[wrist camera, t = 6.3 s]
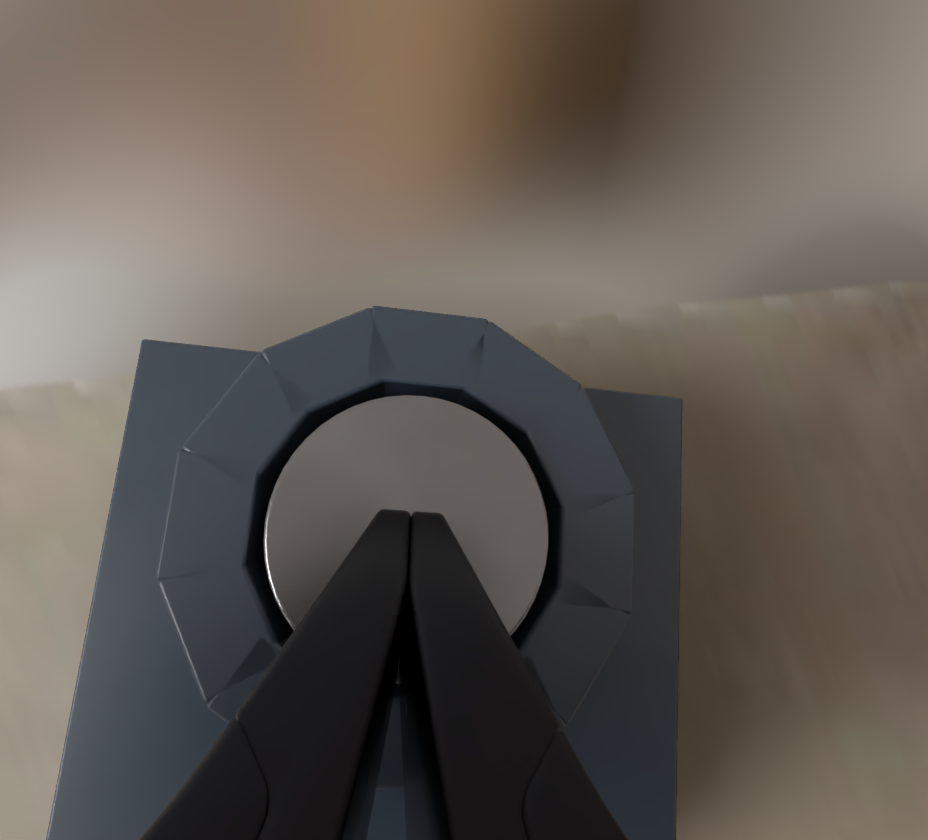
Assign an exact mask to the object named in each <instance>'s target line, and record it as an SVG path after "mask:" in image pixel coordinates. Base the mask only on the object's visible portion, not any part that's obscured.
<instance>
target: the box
mask: <svg viewBox="0 0 928 840" xmlns="http://www.w3.org/2000/svg"><path fill="white" fill-rule="evenodd" d="M397 395H422V396H429V397H435V398H440V399H444V400H447V401H450V402H454V403H457V404H459V405H462V406H464V407H466V408H468V409H471V410H473V411H475V412H476V413H478V414H480V415H481V416H483V417H484V418H486V419H488V420H489V421H491V422H492V423H493V424H494V425H495V426H497V427H498V428H499V429H500V430H502V431H503V432H504V433H505V434H506V435H507V436H508V437H509V438H510V439H511V440H512V441H513V442H514V444H515V445H516V446H517V447H518V449H519V450H520V451H521V453H522V454H523V455H524V457H525V458H526V460H527V462H528V463H529V465H530V467H531V469H532V470H533V472H534V474H535V476H536V479H537V481H538V484H539V486H540V489H541V491H542V495H543V499H544V502H545V506H546V511H547V518H548V526H549V548H548V556H547V564H546V568H545V572H544V576H543V580H542V584H541V586H540V589H539V591H538V594H537V596H536V599H535V601H534V603H533V605H532V606H531V608H530V610H529V612H528V614H527V616H526V617H525V619H524V620H523V621H522V623H521V624H520V625H519V627H518V628H517V630H516V631H515V632H514V633H513V634H512V635H511V638H512V640H513V642H514V644H515V645H516V647H517V649H518V651H519V653H520V655H521V656H522V658H523V660H524V662H525V664H526V665H527V667H528V669H529V671H530V673H531V674H532V676H533V678H534V680H535V682H536V683H537V685H538V687H539V689H540V691H541V692H542V694H543V696H544V698H545V700H546V702H547V703H548V705H549V707H550V709H551V711H552V712H553V714H554V716H555V718H556V720H557V721H558V723H559V729H558V731H563V732H564V733H565V735H566V737H567V739H568V741H569V742H570V744H571V746H572V748H573V750H574V752H575V753H576V755H577V757H578V759H579V761H580V762H581V764H582V766H583V768H584V769H585V771H586V773H587V774H588V776H589V778H590V779H591V781H592V783H593V784H594V786H595V788H596V790H597V791H598V793H599V795H600V796H601V798H602V800H603V801H604V803H605V805H606V806H607V808H608V810H609V811H610V813H611V814H612V816H613V817H614V819H615V820H616V822H617V823H618V825H619V826H620V828H621V829H622V831H623V832H624V834H625V835H626V837H627V838H628V840H676V795H677V728H678V661H679V594H680V526H681V459H682V399H681V398H676V397H667V396H658V395H649V394H640V393H631V392H621V391H612V390H603V389H594V388H585V387H581V385H580V384H579V383H578V382H576V381H575V380H573V379H572V378H571V377H569V376H568V375H566V374H565V373H563V372H562V371H561V370H559V369H558V368H556V367H555V366H553V365H552V364H551V363H549V362H548V361H546V360H545V359H543V358H542V357H541V356H539V355H538V354H536V353H535V352H534V351H532V350H531V349H529V348H528V347H526V346H525V345H524V344H522V343H521V342H519V341H518V340H516V339H515V338H514V337H512V336H511V335H509V334H508V333H506V332H505V331H504V330H502V329H501V328H499V327H498V326H496V325H495V324H494V323H492V322H488V320H487V319H482V318H474V317H465V316H457V315H448V314H440V313H431V312H423V311H414V310H406V309H397V308H389V307H381V306H373V307H372V308H366V309H364V310H361V311H359V312H356V313H354V314H352V315H349V316H346V317H344V318H341V319H339V320H336V321H334V322H331V323H329V324H326V325H324V326H321V327H319V328H316V329H314V330H311V331H309V332H306V333H304V334H301V335H299V336H296V337H294V338H291V339H289V340H286V341H284V342H281V343H279V344H276V345H273V346H271V347H268V348H266V349H264V350H263V351H262V352H255V351H247V350H236V349H228V348H219V347H210V346H201V345H192V344H183V343H173V342H164V341H155V340H142V343H141V349H140V354H139V359H138V364H137V369H136V375H135V380H134V385H133V390H132V395H131V401H130V406H129V411H128V416H127V421H126V427H125V432H124V437H123V442H122V447H121V453H120V458H119V463H118V468H117V474H116V479H115V484H114V489H113V494H112V500H111V505H110V510H109V515H108V520H107V526H106V531H105V536H104V541H103V546H102V552H101V557H100V562H99V567H98V573H97V578H96V583H95V588H94V593H93V599H92V604H91V609H90V614H89V619H88V625H87V630H86V635H85V640H84V645H83V651H82V656H81V661H80V666H79V672H78V677H77V682H76V687H75V692H74V698H73V703H72V708H71V713H70V718H69V724H68V729H67V734H66V739H65V744H64V750H63V755H62V760H61V765H60V771H59V776H58V781H57V786H56V791H55V797H54V802H53V807H52V812H51V817H50V823H49V828H48V833H47V838H46V840H139V839H140V838H141V837H142V835H143V834H144V833H145V832H146V831H147V829H148V828H149V827H150V826H151V825H152V823H153V822H154V821H155V820H156V819H157V817H158V816H159V815H160V814H161V813H162V811H163V810H164V809H165V808H166V807H167V805H168V804H169V803H170V802H171V800H172V799H173V798H174V797H175V795H176V794H177V793H178V791H179V790H180V789H181V787H182V786H183V785H184V783H185V782H186V781H187V779H188V778H189V777H190V775H191V774H192V773H193V771H194V770H195V769H196V767H197V766H198V765H199V763H200V762H201V761H202V759H203V758H204V757H205V755H206V754H207V753H208V751H209V750H210V748H211V747H212V746H213V744H214V743H215V741H216V740H217V739H218V737H219V736H220V734H221V733H222V731H223V730H224V729H225V727H226V726H227V724H228V723H229V722H230V720H231V719H234V718H235V719H236V712H237V711H238V709H239V708H240V707H241V705H242V704H243V702H244V701H245V699H246V698H247V697H248V695H249V694H250V692H251V691H252V689H253V688H254V687H255V685H256V684H257V682H258V681H259V680H260V678H261V677H262V675H263V674H264V672H265V671H266V670H267V668H268V667H269V665H270V664H271V663H272V661H273V660H274V658H275V657H276V655H277V654H278V653H279V651H280V650H281V648H282V647H283V646H284V644H285V643H286V641H287V640H288V638H289V637H290V636H291V634H292V633H293V629H292V628H291V626H290V625H289V624H288V622H287V621H286V619H285V618H284V616H283V615H282V613H281V611H280V609H279V607H278V605H277V603H276V601H275V598H274V596H273V593H272V590H271V587H270V584H269V581H268V577H267V572H266V567H265V562H264V548H263V535H264V522H265V517H266V512H267V507H268V503H269V500H270V497H271V494H272V491H273V488H274V485H275V483H276V481H277V479H278V477H279V475H280V473H281V471H282V469H283V467H284V466H285V464H286V463H287V461H288V460H289V458H290V457H291V455H292V454H293V452H294V451H295V450H296V449H297V448H298V446H299V445H300V444H301V443H302V442H303V441H304V440H305V439H306V437H307V436H309V435H310V434H311V433H312V432H313V431H314V430H315V429H317V428H318V427H319V426H320V425H321V424H323V423H324V422H326V421H327V420H329V419H330V418H332V417H333V416H335V415H336V414H338V413H340V412H342V411H344V410H346V409H348V408H350V407H352V406H355V405H357V404H360V403H363V402H366V401H369V400H373V399H377V398H382V397H387V396H397ZM366 840H406V821H405V802H404V782H403V763H402V743H401V724H400V705H399V684H396V687H395V693H394V699H393V704H392V709H391V714H390V719H389V724H388V729H387V734H386V740H385V745H384V750H383V755H382V760H381V765H380V770H379V776H378V781H377V786H376V791H375V796H374V801H373V806H372V812H371V817H370V822H369V827H368V832H367V837H366Z"/></svg>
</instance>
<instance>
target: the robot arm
mask: <svg viewBox="0 0 928 840" xmlns="http://www.w3.org/2000/svg"><path fill="white" fill-rule="evenodd" d="M399 654H400V657H399ZM398 664H399V705H400V724H401V743H402V763H403V782H404V802H405V821H406V840H628V838H627V837H626V835H625V834H624V832H623V831H622V829H621V828H620V826H619V825H618V823H617V822H616V820H615V819H614V817H613V816H612V814H611V813H610V811H609V810H608V808H607V806H606V805H605V803H604V801H603V800H602V798H601V796H600V795H599V793H598V791H597V790H596V788H595V786H594V784H593V783H592V781H591V779H590V778H589V776H588V774H587V773H586V771H585V769H584V768H583V766H582V764H581V762H580V761H579V759H578V757H577V755H576V753H575V752H574V750H573V748H572V746H571V744H570V742H569V741H568V739H567V737H566V735H565V733H564V732H563V731H558V729H559V723H558V721H557V720H556V718H555V716H554V714H553V712H552V711H551V709H550V707H549V705H548V703H547V702H546V700H545V698H544V696H543V694H542V692H541V691H540V689H539V687H538V685H537V683H536V682H535V680H534V678H533V676H532V674H531V673H530V671H529V669H528V667H527V665H526V664H525V662H524V660H523V658H522V656H521V655H520V653H519V651H518V649H517V647H516V645H515V644H514V642H513V640H512V638H511V636H510V635H509V633H508V631H507V629H506V627H505V626H504V624H503V622H502V620H501V618H500V617H499V615H498V613H497V611H496V609H495V608H494V606H493V604H492V602H491V600H490V598H489V597H488V595H487V593H486V591H485V589H484V588H483V586H482V584H481V582H480V580H479V579H478V577H477V575H476V573H475V571H474V570H473V568H472V566H471V564H470V562H469V561H468V559H467V557H466V555H465V553H464V552H463V550H462V548H461V546H460V544H459V542H458V541H457V539H456V537H455V535H454V533H453V532H452V530H451V528H450V526H449V524H448V523H447V521H446V519H445V517H444V516H443V515H442V514H440V513H434V512H420V511H415V512H413V513H412V515H411V516H410V513H409V512H408V511H405V510H391V509H382V510H380V511H379V512H378V513H377V514H376V515H375V516H374V518H373V519H372V521H371V522H370V524H369V525H368V526H367V528H366V529H365V531H364V532H363V534H362V535H361V536H360V538H359V539H358V541H357V542H356V543H355V545H354V546H353V548H352V549H351V551H350V552H349V553H348V555H347V556H346V558H345V559H344V560H343V562H342V563H341V565H340V566H339V568H338V569H337V570H336V572H335V573H334V575H333V576H332V577H331V579H330V580H329V582H328V583H327V585H326V586H325V587H324V589H323V590H322V592H321V593H320V594H319V596H318V597H317V599H316V600H315V602H314V603H313V604H312V606H311V607H310V609H309V610H308V611H307V613H306V614H305V616H304V617H303V619H302V620H301V621H300V623H299V624H298V626H297V627H296V629H295V630H294V631H293V633H292V634H291V636H290V637H289V638H288V640H287V641H286V643H285V644H284V646H283V647H282V648H281V650H280V651H279V653H278V654H277V655H276V657H275V658H274V660H273V661H272V663H271V664H270V665H269V667H268V668H267V670H266V671H265V672H264V674H263V675H262V677H261V678H260V680H259V681H258V682H257V684H256V685H255V687H254V688H253V689H252V691H251V692H250V694H249V695H248V697H247V698H246V699H245V701H244V702H243V704H242V705H241V707H240V708H239V709H238V711H237V712H236V719H235V718H234V719H231V720H230V722H229V723H228V724H227V726H226V727H225V729H224V730H223V731H222V733H221V734H220V736H219V737H218V739H217V740H216V741H215V743H214V744H213V746H212V747H211V748H210V750H209V751H208V753H207V754H206V755H205V757H204V758H203V759H202V761H201V762H200V763H199V765H198V766H197V767H196V769H195V770H194V771H193V773H192V774H191V775H190V777H189V778H188V779H187V781H186V782H185V783H184V785H183V786H182V787H181V789H180V790H179V791H178V793H177V794H176V795H175V797H174V798H173V799H172V800H171V802H170V803H169V804H168V805H167V807H166V808H165V809H164V810H163V811H162V813H161V814H160V815H159V816H158V817H157V819H156V820H155V821H154V822H153V823H152V825H151V826H150V827H149V828H148V829H147V831H146V832H145V833H144V834H143V835H142V837H141V838H140V839H139V840H366V837H367V832H368V827H369V822H370V817H371V812H372V806H373V801H374V796H375V791H376V786H377V781H378V776H379V770H380V765H381V760H382V755H383V750H384V745H385V740H386V734H387V729H388V724H389V719H390V714H391V709H392V704H393V699H394V693H395V687H396V681H397V673H398Z"/></svg>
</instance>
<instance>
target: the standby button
mask: <svg viewBox="0 0 928 840" xmlns="http://www.w3.org/2000/svg"><path fill="white" fill-rule="evenodd" d="M382 509H391V510H405V511H408V512H409V513H410V516H411V515H412V513H413V512H415V511H420V512H434V513H440V514H442V515H443V516H444V517H445V519H446V521H447V523H448V524H449V526H450V528H451V530H452V532H453V533H454V535H455V537H456V539H457V541H458V542H459V544H460V546H461V548H462V550H463V552H464V553H465V555H466V557H467V559H468V561H469V562H470V564H471V566H472V568H473V570H474V571H475V573H476V575H477V577H478V579H479V580H480V582H481V584H482V586H483V588H484V589H485V591H486V593H487V595H488V597H489V598H490V600H491V602H492V604H493V606H494V608H495V609H496V611H497V613H498V615H499V617H500V618H501V620H502V622H503V624H504V626H505V627H506V629H507V631H508V633H509V635H510V636H511V635H512V634H513V633H514V632H515V631H516V630H517V628H518V627H519V625H520V624H521V623H522V621H523V620H524V619H525V617H526V616H527V614H528V612H529V610H530V608H531V606H532V605H533V603H534V601H535V599H536V596H537V594H538V591H539V589H540V586H541V584H542V580H543V576H544V572H545V568H546V564H547V556H548V548H549V526H548V518H547V511H546V506H545V502H544V499H543V495H542V491H541V489H540V486H539V484H538V481H537V479H536V476H535V474H534V472H533V470H532V469H531V467H530V465H529V463H528V462H527V460H526V458H525V457H524V455H523V454H522V453H521V451H520V450H519V449H518V447H517V446H516V445H515V444H514V442H513V441H512V440H511V439H510V438H509V437H508V436H507V435H506V434H505V433H504V432H503V431H502V430H500V429H499V428H498V427H497V426H495V425H494V424H493V423H492V422H491V421H489V420H488V419H486V418H484V417H483V416H481V415H480V414H478V413H476V412H475V411H473V410H471V409H468V408H466V407H464V406H462V405H459V404H457V403H454V402H450V401H447V400H444V399H440V398H435V397H429V396H422V395H397V396H387V397H382V398H377V399H373V400H369V401H366V402H363V403H360V404H357V405H355V406H352V407H350V408H348V409H346V410H344V411H342V412H340V413H338V414H336V415H335V416H333V417H332V418H330V419H329V420H327V421H326V422H324V423H323V424H321V425H320V426H319V427H318V428H317V429H315V430H314V431H313V432H312V433H311V434H310V435H309V436H307V437H306V439H305V440H304V441H303V442H302V443H301V444H300V445H299V446H298V448H297V449H296V450H295V451H294V452H293V454H292V455H291V457H290V458H289V460H288V461H287V463H286V464H285V466H284V467H283V469H282V471H281V473H280V475H279V477H278V479H277V481H276V483H275V485H274V488H273V491H272V494H271V497H270V500H269V503H268V507H267V512H266V517H265V522H264V535H263V548H264V562H265V567H266V572H267V577H268V581H269V584H270V587H271V590H272V593H273V596H274V598H275V601H276V603H277V605H278V607H279V609H280V611H281V613H282V615H283V616H284V618H285V619H286V621H287V622H288V624H289V625H290V626H291V628H292V629H293V631H294V630H295V629H296V627H297V626H298V624H299V623H300V621H301V620H302V619H303V617H304V616H305V614H306V613H307V611H308V610H309V609H310V607H311V606H312V604H313V603H314V602H315V600H316V599H317V597H318V596H319V594H320V593H321V592H322V590H323V589H324V587H325V586H326V585H327V583H328V582H329V580H330V579H331V577H332V576H333V575H334V573H335V572H336V570H337V569H338V568H339V566H340V565H341V563H342V562H343V560H344V559H345V558H346V556H347V555H348V553H349V552H350V551H351V549H352V548H353V546H354V545H355V543H356V542H357V541H358V539H359V538H360V536H361V535H362V534H363V532H364V531H365V529H366V528H367V526H368V525H369V524H370V522H371V521H372V519H373V518H374V516H375V515H376V514H377V513H378V512H379V511H380V510H382ZM399 657H400V654H399ZM396 684H399V664H398V673H397V681H396Z"/></svg>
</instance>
